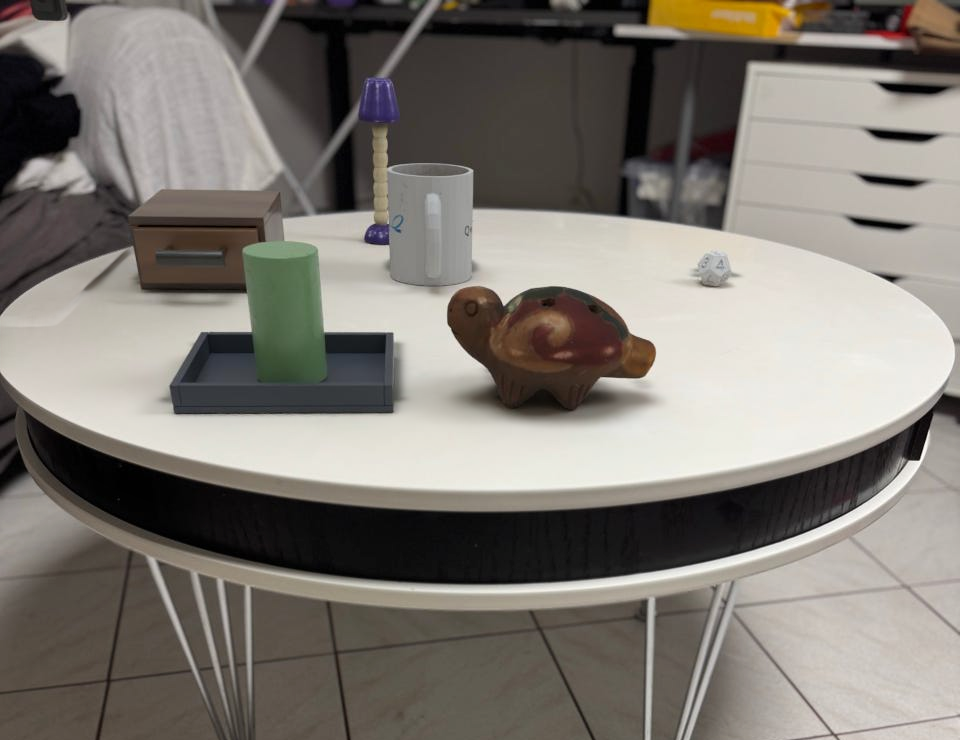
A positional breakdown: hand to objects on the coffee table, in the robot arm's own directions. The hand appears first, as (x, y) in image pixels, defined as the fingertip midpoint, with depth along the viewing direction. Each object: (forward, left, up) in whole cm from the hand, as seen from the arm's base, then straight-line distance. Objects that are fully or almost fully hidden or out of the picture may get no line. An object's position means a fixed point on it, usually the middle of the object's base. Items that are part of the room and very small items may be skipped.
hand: (51, 20), depth 69 cm
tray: (+18, -18, -22) cm, 33 cm away
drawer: (+7, +12, -21) cm, 25 cm away
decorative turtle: (+37, -21, -22) cm, 48 cm away
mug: (+29, +13, -22) cm, 39 cm away
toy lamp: (+24, +31, -22) cm, 45 cm away
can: (+18, -18, -21) cm, 33 cm away
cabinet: (+7, +16, -22) cm, 28 cm away
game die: (+59, +12, -22) cm, 64 cm away
